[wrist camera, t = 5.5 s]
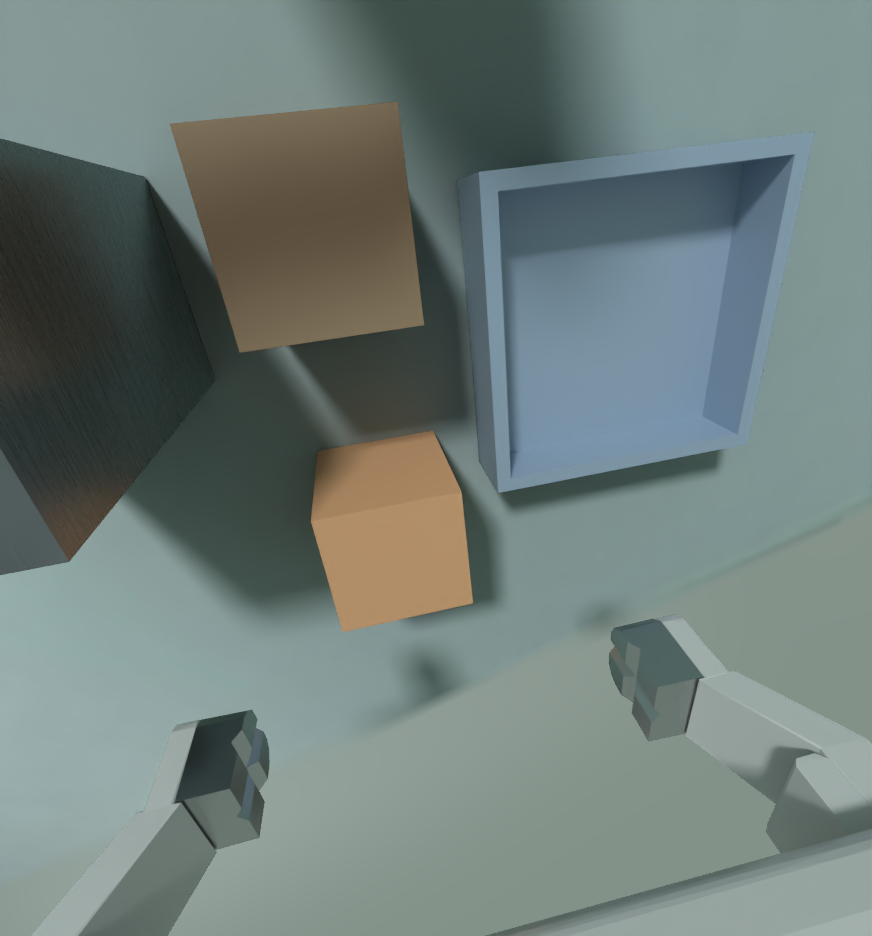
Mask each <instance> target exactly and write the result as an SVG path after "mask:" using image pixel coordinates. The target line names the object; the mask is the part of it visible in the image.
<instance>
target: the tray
mask: <svg viewBox="0 0 872 936" xmlns="http://www.w3.org/2000/svg"><path fill="white" fill-rule="evenodd" d="M813 137H814V132H808V133H800V134H791V135H783V136H775V137H766V138H758V139H749V140H741V141H733V142H724V143H716V144H708V145H699V146H691V147H682V148H674V149H666V150H657V151H649V152H641V153H632V154H624V155H616V156H607V157H599V158H590V159H582V160H574V161H565V162H557V163H549V164H540V165H532V166H523V167H515V168H507V169H498V170H490V171H482V172H477V173H475V174H472V175H470V176H467V177H465V178H462V179H460V180H457V183H458V195H459V208H460V221H461V233H462V246H463V259H464V271H465V284H466V297H467V309H468V322H469V335H470V347H471V360H472V373H473V385H474V398H475V411H476V423H477V436H478V449H479V462H480V464H481V465H482V467H483V469H484V470H485V472H486V474H487V475H488V477H489V479H490V480H491V482H492V484H493V485H494V487H495V489H496V490H497V492H498V493H501V492H506V491H511V490H516V489H521V488H527V487H532V486H537V485H542V484H547V483H552V482H557V481H562V480H567V479H572V478H577V477H583V476H588V475H593V474H598V473H603V472H608V471H613V470H618V469H623V468H628V467H633V466H639V465H644V464H649V463H654V462H659V461H664V460H669V459H674V458H679V457H684V456H689V455H694V454H700V453H705V452H710V451H715V450H720V449H725V448H730V447H735V446H740V445H745V444H747V442H748V437H749V433H750V428H751V424H752V419H753V414H754V410H755V405H756V400H757V396H758V391H759V387H760V382H761V377H762V373H763V368H764V363H765V359H766V354H767V350H768V345H769V340H770V336H771V331H772V326H773V322H774V317H775V313H776V308H777V303H778V299H779V294H780V289H781V285H782V280H783V276H784V271H785V266H786V262H787V257H788V252H789V248H790V243H791V239H792V234H793V229H794V225H795V220H796V216H797V211H798V206H799V202H800V197H801V192H802V188H803V183H804V179H805V174H806V169H807V165H808V160H809V155H810V151H811V146H812V142H813Z"/></svg>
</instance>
